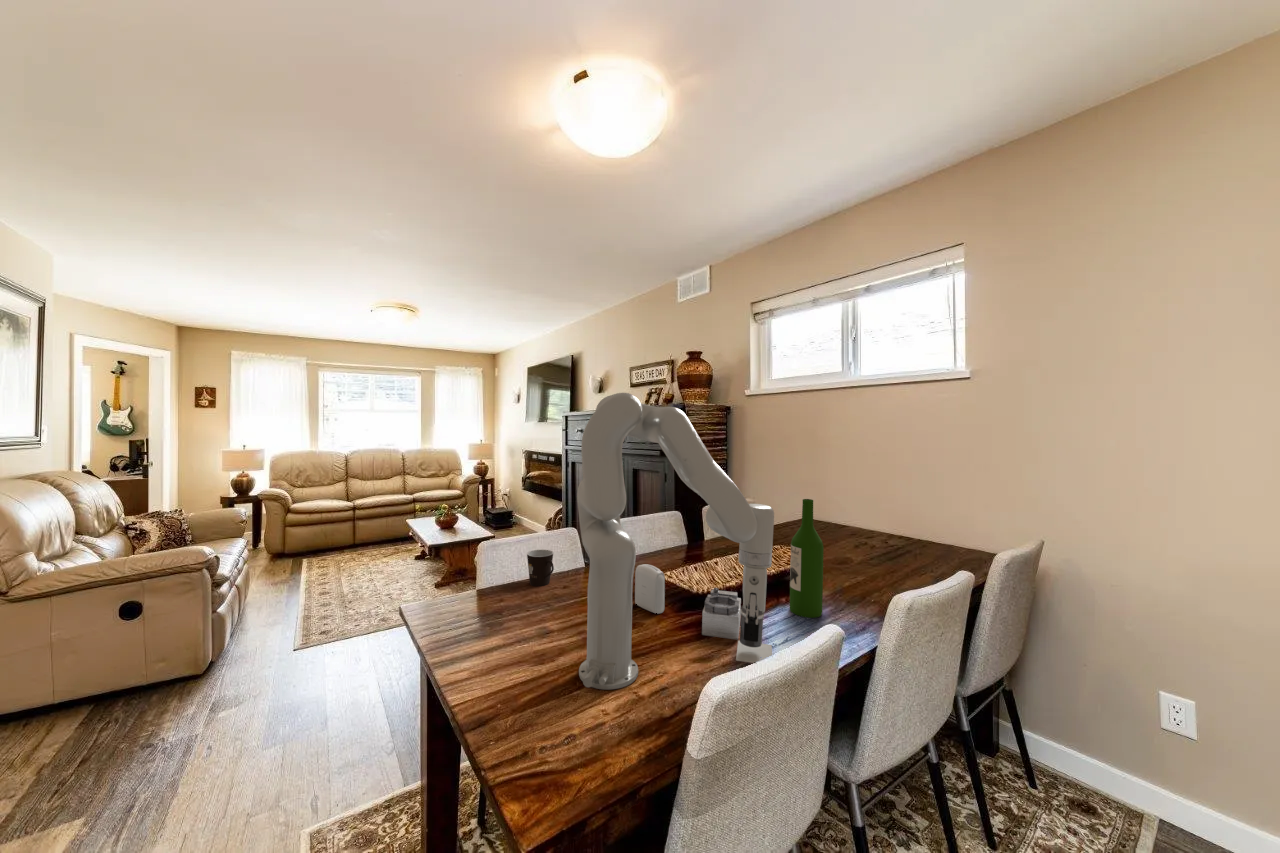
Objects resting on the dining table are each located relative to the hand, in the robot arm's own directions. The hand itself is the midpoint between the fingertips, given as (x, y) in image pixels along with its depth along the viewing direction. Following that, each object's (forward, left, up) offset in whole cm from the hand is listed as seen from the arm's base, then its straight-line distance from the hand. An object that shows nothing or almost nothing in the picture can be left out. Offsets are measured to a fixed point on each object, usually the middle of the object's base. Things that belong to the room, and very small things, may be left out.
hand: (751, 634), depth 108 cm
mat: (+1, -1, -5) cm, 5 cm away
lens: (0, 0, -2) cm, 2 cm away
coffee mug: (+28, +68, -5) cm, 74 cm away
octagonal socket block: (+13, +8, -5) cm, 15 cm away
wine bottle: (+31, -15, -5) cm, 34 cm away
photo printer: (+20, +29, -5) cm, 35 cm away
